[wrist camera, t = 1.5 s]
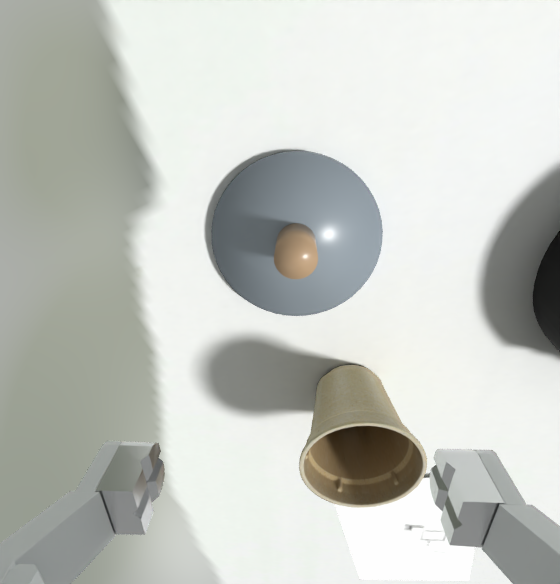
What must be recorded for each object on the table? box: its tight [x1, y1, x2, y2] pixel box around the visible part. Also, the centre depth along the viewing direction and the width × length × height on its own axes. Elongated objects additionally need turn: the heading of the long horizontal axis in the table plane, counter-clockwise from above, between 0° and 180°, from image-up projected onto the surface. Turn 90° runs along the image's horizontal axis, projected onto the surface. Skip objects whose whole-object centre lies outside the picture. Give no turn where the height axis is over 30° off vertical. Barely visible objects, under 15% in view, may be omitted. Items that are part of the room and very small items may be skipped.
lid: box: [212, 151, 383, 316], centre depth 27 cm, size 13×13×4 cm
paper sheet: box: [334, 478, 475, 581], centre depth 45 cm, size 24×29×1 cm
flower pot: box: [299, 365, 427, 508], centre depth 31 cm, size 9×9×9 cm
